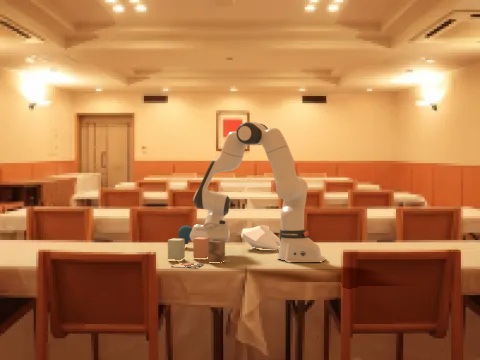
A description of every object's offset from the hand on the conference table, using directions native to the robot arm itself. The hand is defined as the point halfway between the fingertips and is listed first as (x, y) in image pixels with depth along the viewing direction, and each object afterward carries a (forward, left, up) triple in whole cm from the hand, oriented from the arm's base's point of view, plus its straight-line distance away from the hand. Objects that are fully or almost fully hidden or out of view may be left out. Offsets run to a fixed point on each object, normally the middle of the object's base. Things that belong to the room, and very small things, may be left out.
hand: (206, 247), depth 266 cm
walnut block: (-10, +14, -4) cm, 18 cm away
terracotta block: (0, +7, -4) cm, 8 cm away
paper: (-21, -30, -5) cm, 37 cm away
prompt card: (0, +25, -4) cm, 25 cm away
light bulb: (+20, -23, -5) cm, 31 cm away
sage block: (+10, +14, -4) cm, 18 cm away
